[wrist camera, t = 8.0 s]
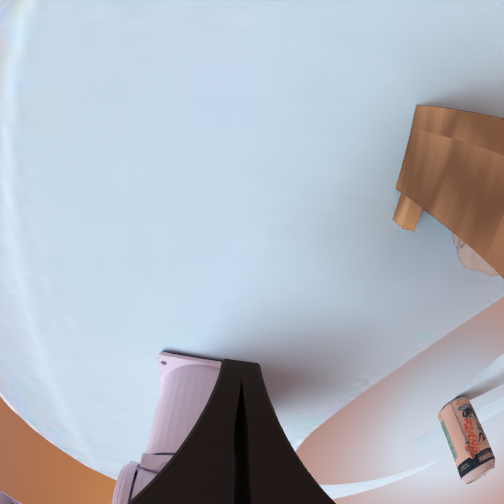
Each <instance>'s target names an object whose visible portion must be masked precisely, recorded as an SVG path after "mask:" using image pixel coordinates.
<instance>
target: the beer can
mask: <svg viewBox="0 0 504 504" xmlns="http://www.w3.org/2000/svg"><path fill="white" fill-rule="evenodd" d="M438 418H439V420H440V423H441V425H442V428H443V430H444V433H445V435H446V438H447V441H448V443H449V446H450V449H451V451H452V454H453V457H454V460H455V463H456V466H457V469H458V471H459V475H460V477H461V480H462V481H463V482H465V483H466V484H469V483H471V482H473V481H475V480H477V479H479V478H481V477H482V476H484V475H486V474H487V473H488V472H490V471H491V470H492V469H493V468H494V465H495V457H494V455H493V452H492V450H491V447H490V445H489V443H488V440H487V438H486V436H485V433H484V431H483V429H482V427H481V424H480V422H479V420H478V418H477V416H476V414H475V412H474V409H473V407H472V405H471V403H470V401H469V399H468V398H467V397H459V398H456V399H453V400H452V401H450V402H448V403H447V404H446V405H445V406H444V407H443V408H442V409H441V411H440V412H439V414H438Z"/></svg>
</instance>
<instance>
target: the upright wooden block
mask: <svg viewBox="0 0 504 504" xmlns="http://www.w3.org/2000/svg"><path fill="white" fill-rule="evenodd" d="M396 189H397V190H398V191H400V192H401V196H400V199H399V203H398V206H397V209H396V212H395V215H394V218H393V220H394V221H395V222H396V223H397V224H398V225H399V226H400V227H401V228H403V229H407V230H412V231H415V229H416V226H417V223H418V220H419V218H420V215H421V212H422V209H424V210H425V211H427V212H428V213H429V214H431V215H432V216H433V217H434V218H436V219H437V220H438V221H440V222H441V223H442V224H443V225H445V226H446V227H447V228H448V229H449V230H451V231H452V232H453V233H454V234H455V235H457V236H458V237H459V238H460V239H461V240H463V241H464V242H465V243H466V244H467V245H468V246H469V247H471V248H472V249H473V250H474V251H475V252H476V253H477V254H478V255H480V256H481V257H482V258H483V259H484V260H485V261H486V262H487V263H488V264H489V265H490V266H491V267H492V268H493V269H495V270H496V271H497V272H498V273H499V274H500V275H501V276H502V277H503V278H504V119H503V118H499V117H494V116H489V115H484V114H479V113H473V112H467V111H461V110H454V109H447V108H439V107H430V106H421V105H416V110H415V115H414V119H413V124H412V128H411V133H410V137H409V141H408V145H407V149H406V153H405V157H404V161H403V165H402V168H401V172H400V175H399V179H398V182H397V186H396Z"/></svg>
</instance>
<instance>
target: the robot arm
mask: <svg viewBox="0 0 504 504" xmlns="http://www.w3.org/2000/svg"><path fill="white" fill-rule="evenodd" d="M158 364H159V376H160V388H161V395H160V398H159V402H158V406H157V410H156V414H155V418H154V422H153V426H152V430H151V434H150V438H149V442H148V447H147V451H146V453H143V454H142V459H141V463H140V464H139V463H138V462H134V461H131V462H130V463H129V464H127V465H125V466H123V467H122V469H121V471H120V474H119V476H118V479H117V483H116V486H115V490H114V495H113V500H112V504H336V503H335V502H334V501H333V500H332V499H331V498H330V497H329V496H328V495H327V494H326V493H325V492H324V490H323V489H322V488H321V487H320V486H319V485H318V483H317V482H316V481H315V480H314V478H313V477H312V476H311V474H310V473H309V472H308V471H307V469H306V468H305V466H304V465H303V463H302V462H301V460H300V459H299V457H298V456H297V454H296V453H295V451H294V449H293V448H292V446H291V444H290V442H289V441H288V439H287V437H286V435H285V433H284V431H283V429H282V427H281V425H280V423H279V421H278V418H277V416H276V414H275V411H274V409H273V406H272V404H271V401H270V399H269V396H268V393H267V390H266V387H265V384H264V380H263V377H262V373H261V368H260V365H259V364H258V363H252V362H244V361H237V360H230V359H224V360H222V362H220V361H213V360H206V359H200V358H194V357H188V356H182V355H177V354H171V353H166V352H161V353H159V356H158ZM0 504H21V503H20V502H18V501H16V500H15V499H13V498H11V497H10V496H9V495H7V494H6V493H4V492H2V491H1V490H0Z"/></svg>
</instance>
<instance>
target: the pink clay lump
mask: <svg viewBox="0 0 504 504" xmlns="http://www.w3.org/2000/svg"><path fill="white" fill-rule="evenodd" d="M452 236H453V241H454V244H455V245H456V247H457V254H458V257H459V259H460V261H461V262H462V264H463V265H464V266H465V267H467V268H468V269H470V270H478V271H481V272H483V273H485V274H487V275H489V276H497V275H500V274H499V273H498V272H497V271H496V270H495V269H493V268H492V267H491V266H490V265H489V264H488V263H487V262H486V261H485V260H484V259H483V258H482V257H481V256H480V255H478V254H477V253H476V252H475V251H474V250H473V249H472V248H471V247H469V246H468V245H467V244H466V243H465V242H464V241H463V240H461V239H460V238H459V237H458V236H457V235H455V234H454V233H453V234H452Z"/></svg>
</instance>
